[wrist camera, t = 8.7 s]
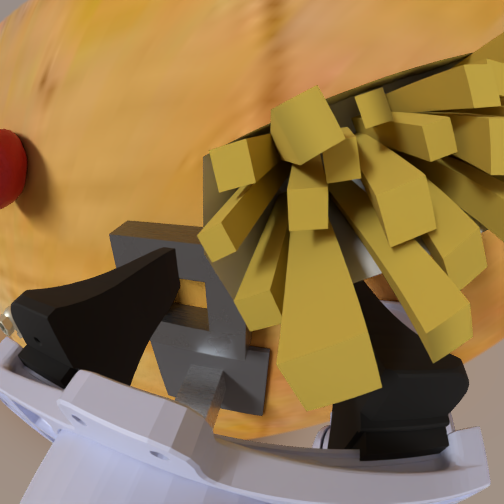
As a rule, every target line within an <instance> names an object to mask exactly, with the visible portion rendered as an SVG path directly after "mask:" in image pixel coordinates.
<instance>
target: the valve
mask: <svg viewBox="0 0 504 504" xmlns="http://www.w3.org/2000/svg"><path fill="white" fill-rule="evenodd" d="M0 328H1V330H2V331H3V332H4V333H5V334H6V335H7V336H10V335H11V334H12V333H13V332H14V329H15V330H16V331H17V332H18V333H17V335H18V336H19V337H20V338H22V335H21V333H20V331H19V330H18V328H17V326H16V324H15V322H14V320H13V318H12V314H11V306H9V307H7V308H6V309H5V311H4V314H1V315H0Z"/></svg>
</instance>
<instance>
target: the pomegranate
mask: <svg viewBox="0 0 504 504" xmlns="http://www.w3.org/2000/svg"><path fill="white" fill-rule="evenodd" d="M26 172H27V157H26V153H25V150H24V147H23V145H22V142H21V141H20V139H19V138H18V137H17V135H15V133H13V132H12V131H10V130H6V129H0V209H2V208H4V207H6V206H8V205H9V204H11V203H12V202H14V201H15V200H16V199H17V198H18V196H19V195H20V194H21V193H22V191H23V188H24V185H25V180H26Z"/></svg>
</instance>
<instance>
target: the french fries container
mask: <svg viewBox="0 0 504 504" xmlns="http://www.w3.org/2000/svg"><path fill="white" fill-rule="evenodd" d="M488 229H489V230H490V231H491V232H492V233H493V234H495V235H496V236H497V237H498V238H499V239H501V240H502V241H503V242H504V32H503V33H502V34H500V35H499V36H497V37H496V38H494V39H493V40H491V41H490V42H488V43H487V44H485V45H484V46H483V47H481V48H480V49H478V50H477V51H475V52H474V53H469V54H465V55H460V56H456V57H452V58H448V59H444V60H440V61H437V62H433V63H429V64H426V65H422V66H419V67H415V68H412V69H409V70H406V71H402V72H399V73H396V74H393V75H390V76H387V77H384V78H381V79H378V80H375V81H373V82H370V83H367V84H364V85H362V86H359V87H356V88H354V89H351V90H348V91H345V92H343V93H340V94H337V95H335V96H332V97H330V98H327V99H325V98H324V96H323V94H322V92H321V91H320V89H319V87H318V85H316V86H314V87H312V88H310V89H309V90H307V91H305V92H303V93H301V94H299V95H297V96H295V97H293V98H291V99H290V100H288V101H286V102H284V103H282V104H280V105H279V106H277V107H275V108H273V109H271V123H269V124H267V125H265V126H263V127H261V128H259V129H257V130H254V131H252V132H250V133H248V134H246V135H244V136H242V137H240V138H238V139H236V140H234V141H232V142H230V143H228V144H226V145H224V146H221V147H218V148H215V149H212V150H209V154H207V155H205V156H204V157H203V229H202V230H201V231H200V232H199V234H198V235H197V237H198V239H199V240H200V242H201V244H202V246H203V247H204V255H205V256H206V258H207V259H208V261H209V263H210V264H211V266H212V267H213V269H214V271H215V272H216V274H217V275H218V277H219V279H220V280H221V282H222V283H223V285H224V286H225V288H226V290H227V291H228V293H229V294H230V296H231V297H232V299H233V300H234V303H235V305H236V307H237V308H238V310H239V312H240V314H241V316H242V318H243V319H244V321H245V323H246V325H247V327H248V329H249V330H250V332H251V331H255V330H259V329H263V328H267V327H271V326H275V325H278V324H281V329H280V338H279V346H278V354H277V362H276V365H277V367H278V368H279V370H280V371H281V373H282V374H283V376H284V377H285V379H286V381H287V382H288V384H289V385H290V387H291V388H292V390H293V391H294V393H295V394H296V396H297V397H298V399H299V400H300V402H301V404H302V405H303V407H304V408H305V410H306V411H310V410H314V409H317V408H321V407H325V406H328V405H332V404H335V403H338V402H341V401H345V400H348V399H351V398H354V397H357V396H360V395H363V394H366V393H368V392H371V391H374V390H377V389H379V388H382V385H381V380H380V376H379V372H378V368H377V364H376V360H375V356H374V352H373V348H372V345H371V341H370V337H369V334H368V330H367V327H366V324H365V320H364V317H363V314H362V310H361V307H360V304H359V301H358V298H357V295H356V292H355V289H354V286H353V283H356V282H358V281H361V280H364V279H367V278H370V277H373V276H375V275H378V274H381V273H382V274H383V275H384V277H385V279H386V280H387V282H388V283H389V285H390V287H391V288H392V290H393V292H394V293H395V295H396V297H397V298H398V300H399V302H400V303H401V305H402V307H403V308H404V310H405V312H406V314H407V315H408V317H409V319H410V321H411V323H412V324H413V326H414V328H415V330H416V332H417V333H418V335H419V337H420V339H421V341H422V343H423V345H424V347H425V348H426V350H427V352H428V354H429V356H430V358H431V360H432V362H433V363H435V362H437V361H438V360H440V359H441V358H443V357H444V356H446V355H448V354H449V353H451V352H452V351H454V350H455V349H456V348H458V347H459V346H461V345H462V344H464V343H465V342H466V341H468V340H469V339H471V338H472V337H473V332H472V319H471V308H470V302H469V301H468V300H467V299H466V297H465V296H464V295H463V294H462V292H461V291H460V290H462V289H463V288H464V287H465V286H466V285H467V284H469V283H470V282H471V281H472V280H473V279H474V278H475V277H477V276H478V275H479V274H480V273H481V272H482V271H483V270H484V269H485V268H486V267H487V262H486V256H485V251H484V246H483V241H482V237H481V233H482V232H484V231H486V230H488ZM430 254H431V255H432V257H433V259H434V260H435V261H434V260H433V259H432V257H431V256H430Z"/></svg>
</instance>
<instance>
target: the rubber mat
mask: <svg viewBox="0 0 504 504" xmlns="http://www.w3.org/2000/svg"><path fill="white" fill-rule="evenodd" d="M151 344H152V347H153V350H154V354H155V357H156V360H157V363H158V366H159V369H160V372H161V375H162V378H163V381H164V384H165V387H166V390H167V392H168V395H170V396H173V397H176V396H177V394H178V392H179V390H180V387H181V385H182V383H183V381H184V379H185V376H186V374H187V372H188V370H189V368H190V366H191V365H196V366H201V367H207V368H213V369H219V370H223V374H224V379H225V384H226V392H225V395H224V398H223V401H222V404H221V407H220V408H222V409H226V410H231V411H237V412H242V413H247V414H253V415H259V416H262V415H263V408H264V399H265V390H266V381H267V372H268V363H269V353H270V349H267V348H260V347H253V346H249V350H248V353H247V357H246V360H245V361H242V360H236V359H230V358H225V357H220V356H215V355H210V354H205V353H200V352H195V351H191V350H186V349H182V348H178V347H174V346H170V345H166V344H162V343H158V342H154V341H151Z"/></svg>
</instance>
